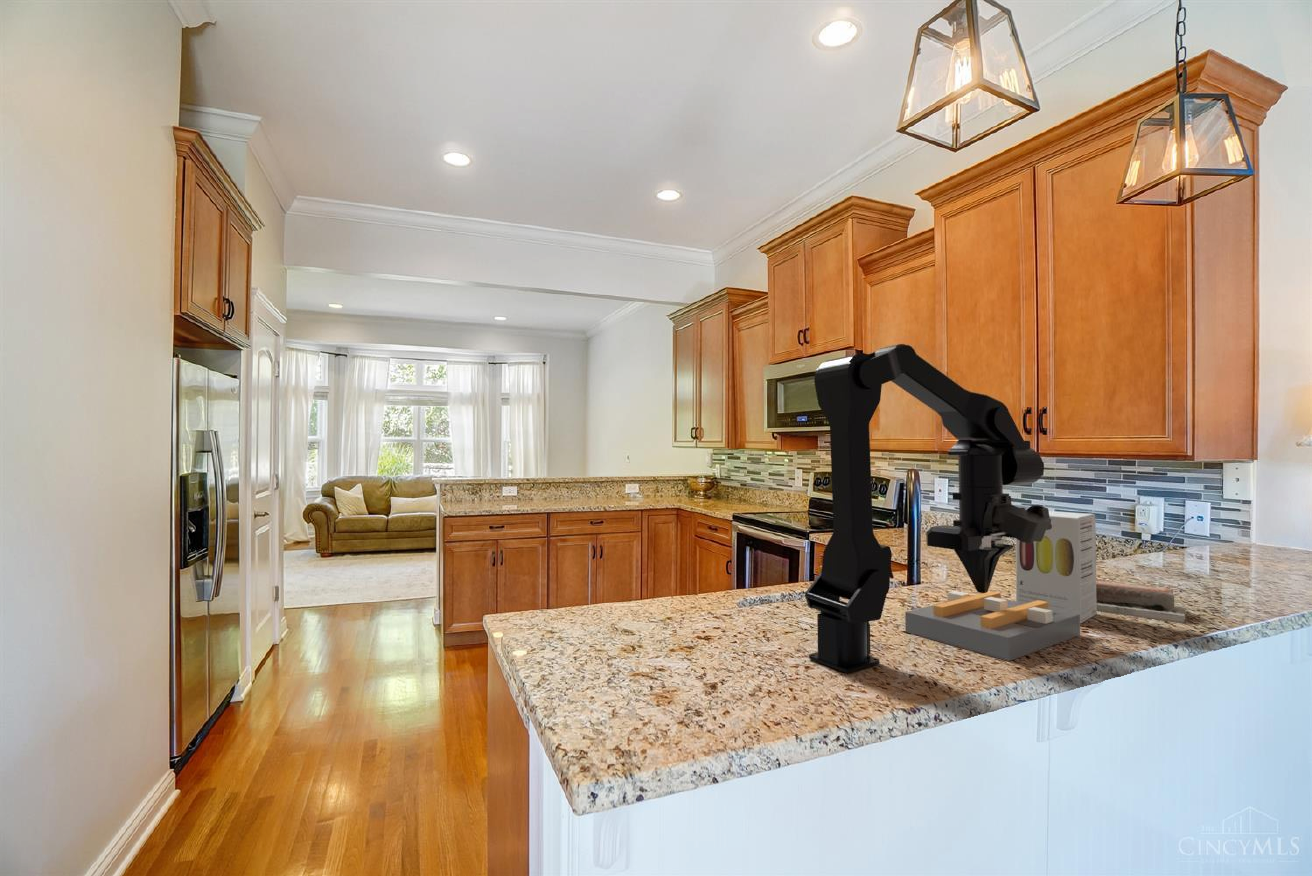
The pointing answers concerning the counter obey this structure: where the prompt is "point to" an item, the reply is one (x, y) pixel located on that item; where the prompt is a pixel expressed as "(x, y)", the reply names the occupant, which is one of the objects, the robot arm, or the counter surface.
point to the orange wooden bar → (963, 604)
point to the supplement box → (1060, 566)
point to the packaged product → (1138, 601)
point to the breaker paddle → (995, 604)
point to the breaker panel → (994, 629)
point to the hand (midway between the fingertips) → (982, 592)
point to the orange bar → (1010, 614)
